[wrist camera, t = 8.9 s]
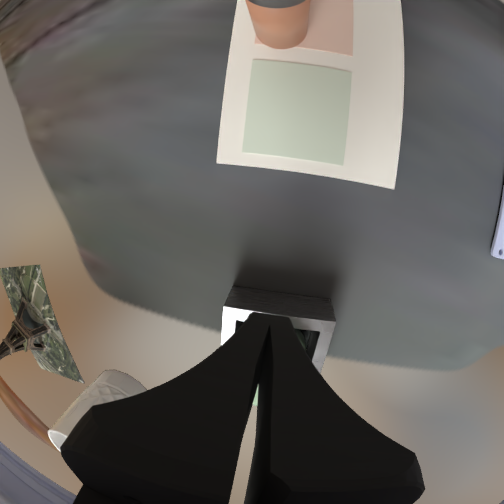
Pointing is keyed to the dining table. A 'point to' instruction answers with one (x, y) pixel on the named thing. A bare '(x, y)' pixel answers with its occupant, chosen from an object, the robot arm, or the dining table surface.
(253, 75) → the picture sheet
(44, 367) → the eiffel tower figurine
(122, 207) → the dining table surface
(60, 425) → the white cup
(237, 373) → the robot arm
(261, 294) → the frame
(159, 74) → the dining table surface
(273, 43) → the marker
